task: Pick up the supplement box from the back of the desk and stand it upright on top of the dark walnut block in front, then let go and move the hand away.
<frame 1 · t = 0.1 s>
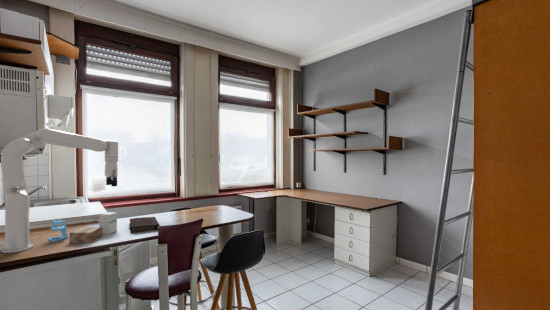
hand: (111, 185, 182), 31 cm above the table, tool pointing down, fingers open, 9 cm apart
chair: (58, 239, 168), on the table
diary: (143, 228, 196), on the table
walnut block: (86, 239, 167), on the table
supplement box: (108, 232, 183), on the table
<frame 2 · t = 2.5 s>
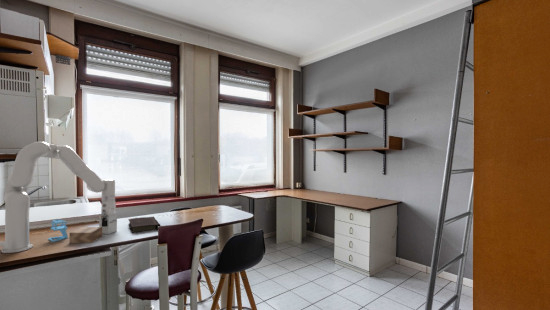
hand: (108, 224, 183), 5 cm above the table, tool pointing down, fingers closed on supplement box, 8 cm apart
supplement box: (108, 232, 183), on the table, touching gripper
everything else where it was.
when the fingers open (12 cm above the table, at t = 8.5 s): supplement box drops 1 cm, resting on walnut block.
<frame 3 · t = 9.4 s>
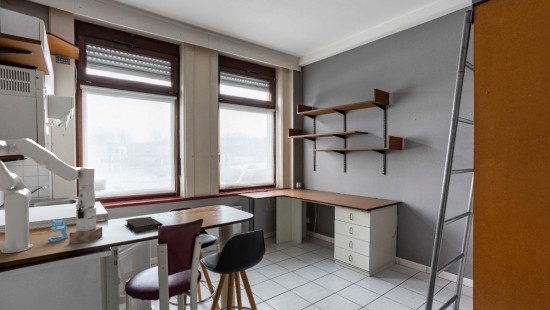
hand: (85, 216, 167), 14 cm above the table, tool pointing down, fingers open, 9 cm apart
supplement box: (86, 229, 168), point 6 cm above the table, touching gripper, walnut block
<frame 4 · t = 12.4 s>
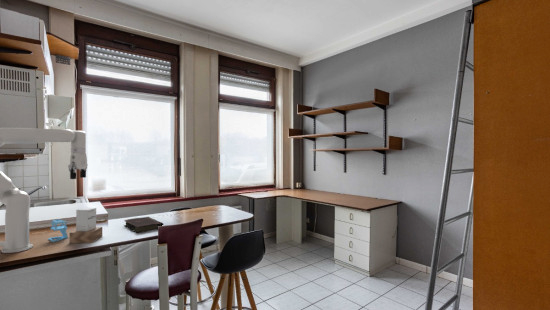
hand: (78, 178, 173), 36 cm above the table, tool pointing down, fingers open, 9 cm apart
supplement box: (86, 230, 168), point 6 cm above the table, touching walnut block
at the end: supplement box inside the target area on the walnut block (0.4 cm from its centre), point 5.8 cm above the walnut block's base; supplement box tilted 0°; the gripper is holding nothing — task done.
